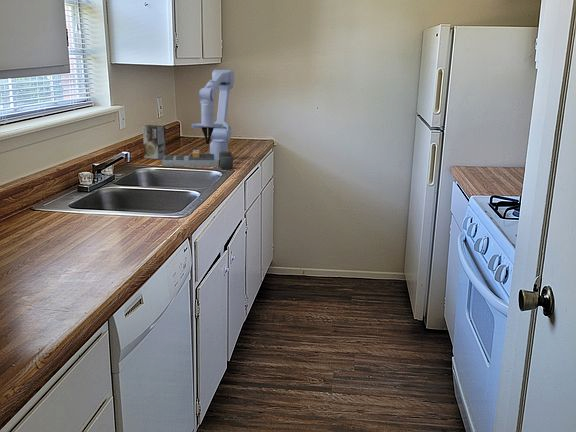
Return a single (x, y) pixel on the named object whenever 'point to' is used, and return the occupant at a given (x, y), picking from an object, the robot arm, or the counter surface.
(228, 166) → the pair of grey cylinders
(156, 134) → the coffee box
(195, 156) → the toggle
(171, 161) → the power strip
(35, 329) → the counter surface
